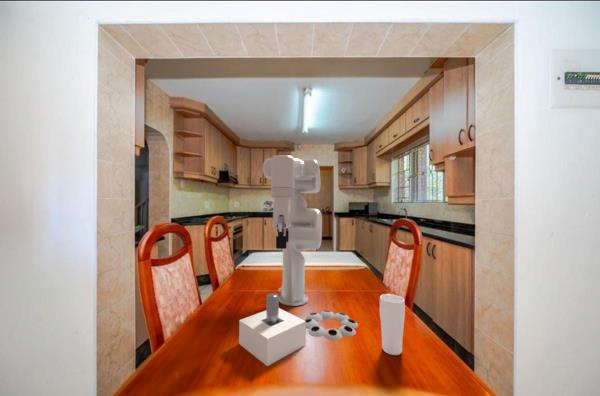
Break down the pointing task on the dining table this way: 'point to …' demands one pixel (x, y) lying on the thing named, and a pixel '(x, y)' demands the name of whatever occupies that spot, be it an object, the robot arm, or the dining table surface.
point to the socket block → (272, 336)
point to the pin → (272, 309)
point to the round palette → (340, 332)
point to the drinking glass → (392, 322)
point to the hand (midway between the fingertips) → (282, 245)
